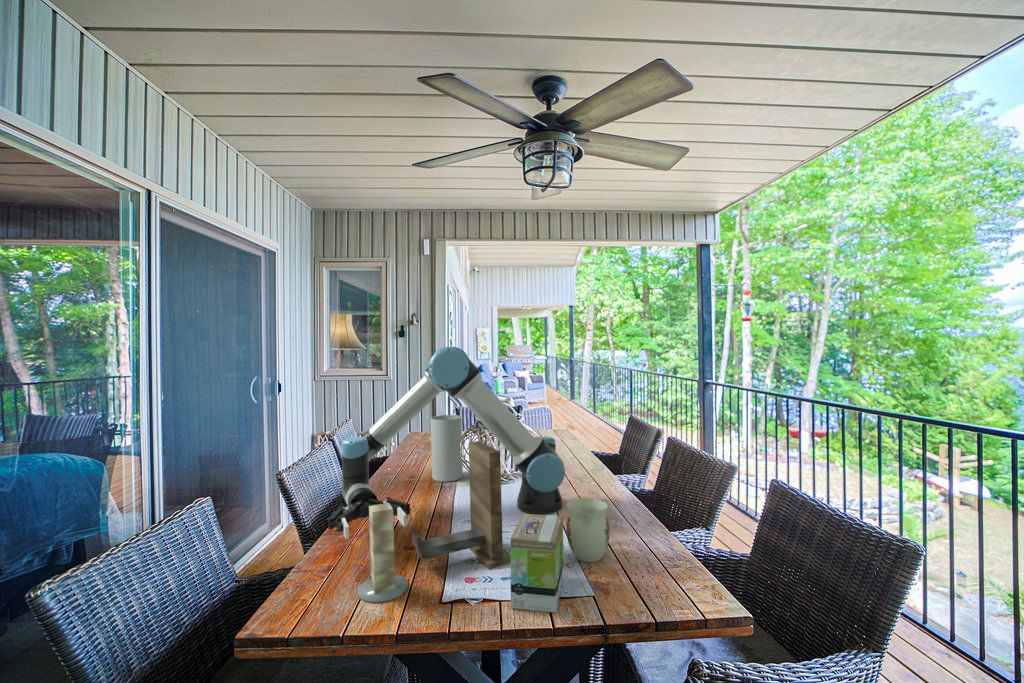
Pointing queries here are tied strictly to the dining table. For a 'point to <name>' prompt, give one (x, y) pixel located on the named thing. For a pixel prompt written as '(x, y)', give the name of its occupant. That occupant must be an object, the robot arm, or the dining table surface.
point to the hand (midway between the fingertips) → (377, 526)
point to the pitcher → (588, 528)
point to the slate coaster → (369, 596)
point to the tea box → (537, 563)
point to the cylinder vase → (446, 448)
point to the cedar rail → (382, 547)
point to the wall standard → (476, 514)
